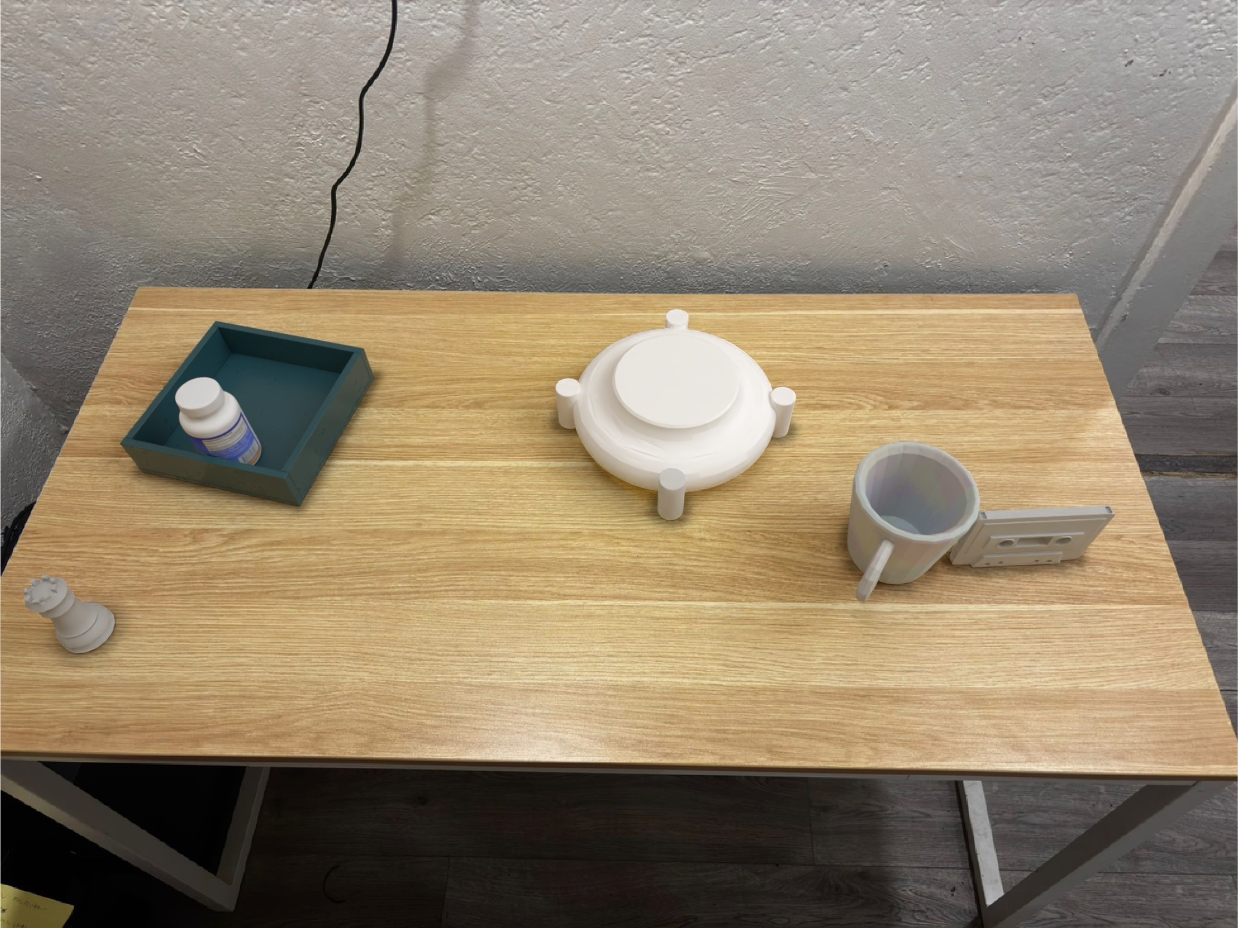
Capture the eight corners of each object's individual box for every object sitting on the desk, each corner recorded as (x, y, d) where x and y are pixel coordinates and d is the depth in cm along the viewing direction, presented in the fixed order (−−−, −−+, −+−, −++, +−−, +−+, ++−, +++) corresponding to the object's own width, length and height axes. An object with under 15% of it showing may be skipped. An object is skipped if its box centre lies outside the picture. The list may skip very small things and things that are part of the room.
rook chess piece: (73, 665, 72) (19, 624, 65) (57, 629, 74) (2, 585, 68) (125, 635, 74) (76, 591, 67) (107, 600, 76) (59, 554, 69)
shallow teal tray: (299, 506, 82) (284, 479, 78) (141, 471, 84) (119, 443, 81) (374, 377, 92) (364, 347, 88) (231, 350, 94) (215, 320, 91)
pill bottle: (203, 447, 85) (160, 383, 78) (256, 428, 87) (220, 363, 79) (214, 485, 82) (170, 422, 75) (268, 465, 84) (232, 401, 76)
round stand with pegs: (545, 514, 81) (539, 470, 75) (569, 338, 95) (566, 290, 89) (795, 526, 80) (808, 483, 74) (781, 347, 94) (791, 298, 88)
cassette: (1073, 546, 78) (1111, 500, 72) (1080, 564, 77) (1120, 518, 71) (946, 552, 78) (973, 506, 72) (951, 570, 77) (979, 524, 70)
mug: (961, 535, 79) (999, 473, 71) (901, 660, 71) (935, 606, 63) (858, 486, 82) (883, 422, 74) (791, 600, 75) (810, 542, 67)
